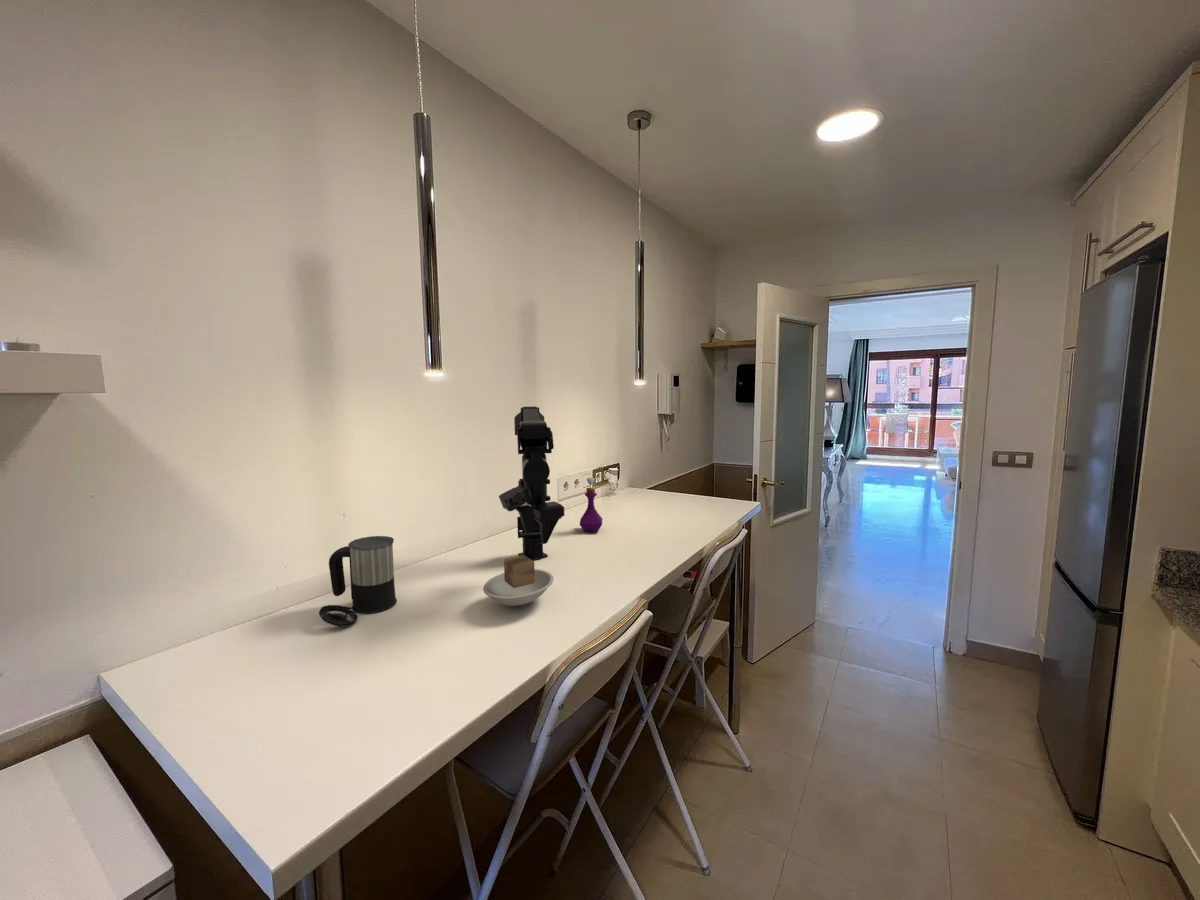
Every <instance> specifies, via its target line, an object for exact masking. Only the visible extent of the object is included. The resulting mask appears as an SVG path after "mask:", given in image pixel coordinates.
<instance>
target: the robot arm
mask: <svg viewBox="0 0 1200 900" xmlns="http://www.w3.org/2000/svg"><path fill="white" fill-rule="evenodd" d="M513 420H514V423H513V424H514V436H516V440H517V455H522V456H521V466H522V467H521V472H522V474H521V475H522V478H519V480H518V483H517V486H515V487H512V488H511V489H509V490H506V491H505V492H503V493H501V494H499V495H498V498H499V500H500V503H501V506H502V508H503V509H505V510H506V511H507V512H513V511H517V512H518V514H519V515H518V516H516V522H517V523H516V525H517V538H518V539H522V552H519V553H517V555H518V557H519V556H526V557H528V558H529V559H531V560H533V561H534V560H538V559H542V558H543V559H544V558H547V557H548V556H549V555H548V554H547V553H546V552H544V545H545V544H546V545H547V544H548V543H549V540H550V539H551V535H552V534H553V531H554V530H555V527H556V526H557V524H558V522H559V520H560V519H562V517H563V518H564V516H565V506H564V505H562V504H561V503H559V502H556V501H551V496H550V495H548V485H550V484H551V479H550V478H549V477H550V473H551V471H550V470H551V469H550V467H549V464H548V461H547V454H552V450H554V445H555V444H554V436H553V431H552V430H551V428H550V426H548V424H547V422H546V420H545V416H544V415H543V414H542V413H541V412H540V407H539V406H522V407H520V412H519V413H518V414H516V415H515V416H514V419H513Z"/></svg>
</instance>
